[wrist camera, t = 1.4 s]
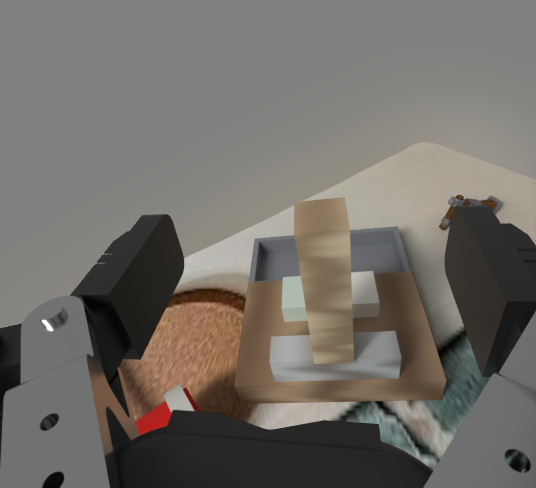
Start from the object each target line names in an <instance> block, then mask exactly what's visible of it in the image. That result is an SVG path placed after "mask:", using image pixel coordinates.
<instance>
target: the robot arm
mask: <svg viewBox="0 0 536 488" xmlns="http://www.w3.org/2000/svg"><path fill="white" fill-rule="evenodd" d="M104 253H105V254H104V255H102V256H101V258H100V259H99V260H98V261H97V265H94V266H93V268H92V269H91V270H90V271H89V273H88V274H87V275H86V276H85V277H84V279H83V280H82V281H81V283H80V284H79V285H78V287H77V288H76V289H75V290H74V291H73V292H72V294H71V295H70V296H62V297H58V298H55V299H52V300H49V301H47V302H45V303H43V304H41V305H40V306H38V307H37V308H35V309H34V310H33V311H32V312H31V313H30V314H29V315H28V316H27V317H26V318H25V320H24V321H23V323H22V324H18V325H14V326H9V327H4V328H0V488H536V245H535V244H534V242H533V241H532V239H531V238H530V237H529V235H528V234H526V233H525V232H523V231H522V230H520V229H519V228H517V227H515V226H514V225H512V224H511V223H508V224H501V223H500V222H499V220H498V219H497V217H496V216H495V214H494V212H493V211H492V209H491V208H490V206H488V205H469V206H456V207H455V208H454V210H453V213H452V218H451V224H450V229H449V235H448V240H447V246H446V251H445V271H446V276H447V279H448V282H449V284H450V287H451V290H452V293H453V296H454V299H455V301H456V304H457V307H458V310H459V313H460V315H461V318H462V321H463V324H464V327H465V330H466V332H467V335H468V338H469V341H470V344H471V347H472V349H473V352H474V355H475V358H476V361H477V363H478V366H479V369H480V372H481V375H482V377H491V378H490V379H489V381H488V383H487V384H486V386H485V388H484V389H483V391H482V392H481V394H480V396H479V397H478V399H477V401H476V402H475V404H474V406H473V407H472V409H471V410H470V412H469V414H468V415H467V417H466V419H465V420H464V422H463V424H462V425H461V427H460V429H459V430H458V432H457V433H456V435H455V437H454V438H453V440H452V442H451V443H450V445H449V447H448V448H447V450H446V451H445V453H444V455H443V456H442V458H441V460H440V461H439V463H438V465H437V466H436V468H435V469H434V471H432V470H431V469H430V468H429V467H427V466H426V465H425V464H423V463H422V462H421V461H420V460H418V459H417V458H415V457H413V456H412V455H410V454H408V453H407V452H405V451H403V450H401V449H399V448H397V447H395V446H393V445H390V444H387V443H384V442H382V441H381V439H380V429H379V424H369V423H355V422H341V421H327V420H323V421H318V422H312V423H307V424H301V425H296V426H290V427H285V428H279V429H273V430H268V429H263V428H261V427H258V426H255V425H252V424H249V423H247V422H244V421H241V420H238V419H235V418H233V417H230V416H227V415H224V414H221V413H214V412H200V411H186V410H173V411H172V414H171V416H170V419H169V422H168V425H167V426H164V427H161V428H157V429H154V430H151V431H149V432H146V433H144V434H142V435H140V434H139V431H138V429H137V426H136V422H135V419H134V415H133V411H132V408H131V404H130V400H129V397H128V393H127V389H126V386H125V382H124V378H123V375H122V372H121V370H120V368H119V366H120V364H121V362H122V360H123V359H138V360H140V359H141V357H142V355H143V353H144V351H145V349H146V347H147V345H148V343H149V341H150V339H151V337H152V335H153V333H154V331H155V329H156V327H157V325H158V323H159V321H160V319H161V317H162V315H163V313H164V311H165V309H166V307H167V305H168V303H169V301H170V299H171V297H172V295H173V293H174V291H175V289H176V287H177V285H178V283H179V280H180V278H181V276H182V274H183V270H184V257H183V253H182V249H181V246H180V243H179V240H178V237H177V234H176V230H175V227H174V224H173V221H172V219H171V217H170V216H169V215H167V214H163V215H162V214H161V215H143V216H141V217H140V219H139V220H138V221H137V222H136V224H135V225H134V226H133V228H132V229H131V230H130V231H128V232H126V233H125V234H123V235H122V236H120V237H119V238H118V239H116V240H115V241H113V243H112V244H111V245H110V246H109V248H108V249H107V250H106V251H105V252H104Z"/></svg>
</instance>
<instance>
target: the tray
mask: <svg viewBox="0 0 536 488" xmlns="http://www.w3.org/2000/svg"><path fill="white" fill-rule="evenodd" d="M350 250H351V272H365V271H373V274H383V273H397V272H412V271H411V268H410V265H409V262H408V259H407V256H406V252H405V249H404V246H403V243H402V240H401V237H400V233H399V230H398V227H386V228H374V229H363V230H351V231H350ZM294 276H301V274H300V268H299V261H298V255H297V248H296V242H295V235H294V236H282V237H271V238H259V239H255V241H254V249H253V256H252V263H251V271H250V278H249V283H253V282H267V281H282V280H283V277H294Z"/></svg>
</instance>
